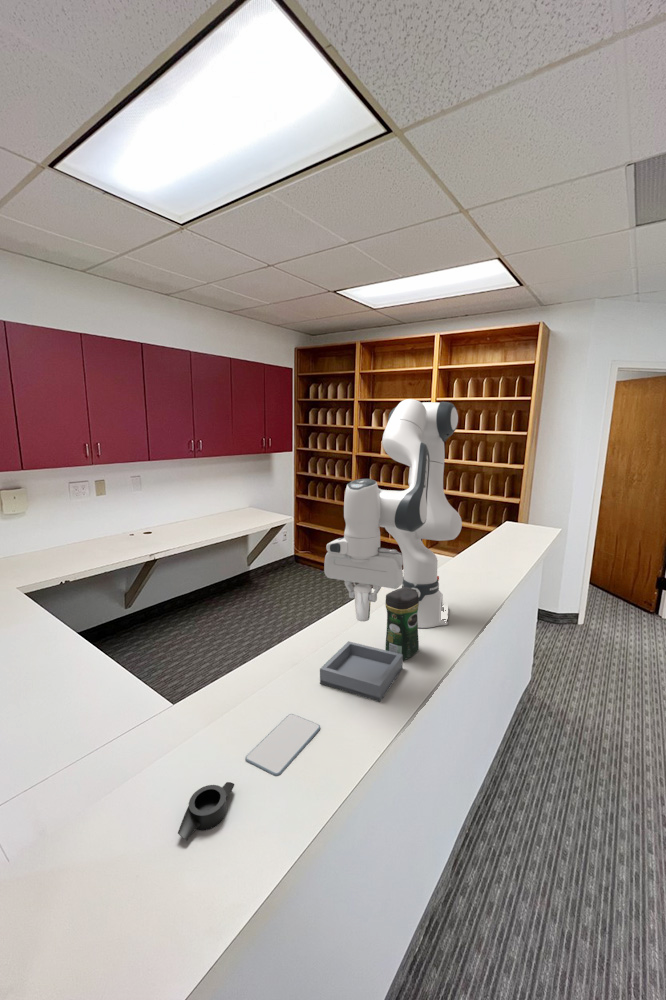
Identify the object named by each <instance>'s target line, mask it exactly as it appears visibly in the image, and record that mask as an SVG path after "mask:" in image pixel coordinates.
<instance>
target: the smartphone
mask: <svg viewBox="0 0 666 1000" xmlns="http://www.w3.org/2000/svg"><path fill="white" fill-rule="evenodd" d="M320 730H321V725H320V724H319V723H317V722H313V721H311V720H309V719H306V718H304V717H301V716H299V715H296V714H294V713H290V714H288V715H287V716H286V717H285V718H284V719H283V720H281V722H279V724H278V725H276V726H275V727H274V728H273V729H272V730H271V731H270V733H268V734H267V735H266V736H265V737H264V738H263V739H262V740H261V741H260V742H259V743H258V744H257V745H256V746H255V747H253V749H252V750H251V751H250V752H249V753H247V755H246V756H245V757H244V760H245V762H246V763H248V764H250V765H253V766H255V767H256V768H259V769H261V770H263V771H264V772H266V773H269V775H272V776H274V777H279V776H280V775H282V773H283V772H284V771H285V770H286V769H287V768H288V767H289V766H290V765H291V764H292V762H293V761H294V760H295V759H296V758H297V756H299V755H300V753H301V752H302V751H303V750H304V749H305V748H306V746H307V745H308V744H309V743H310V742H311V741H312V740H313V738H315V736H316V735H317V734H319V732H320Z"/></svg>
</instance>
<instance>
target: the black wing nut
mask: <svg viewBox="0 0 666 1000" xmlns="http://www.w3.org/2000/svg"><path fill="white" fill-rule="evenodd" d="M234 787H235V783H233V782H229V781H227V782H225V783H224V785H223V786H220V785H218V784H209V785H205V786H203V787H200V788H198V789H197V790H196V791H194V793H192V795H191V797H190V798H189V800H188V801H189V802H188V806H187V808H186V810H185V812H184V816H183V818H182V820H181V824H180V826H179V829H178V832H177V834H178V835H179V836H180V838H182V839H184V840H186V841H188V839H190V837H191V835H192V834H193V833H194V832H195V831H196V830H197V831H201V832H204V831H209V830H212V829H214V828H216V827H217V826H219V825H221V823H222V822H223V821H224V820H225V818H226V816H227V813H228V811H227V810H228V808H227V806H228V805H227V804H228V803H227V797H228V796H229V795H230V794H231V793H232V790H233V789H234Z"/></svg>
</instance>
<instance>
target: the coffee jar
mask: <svg viewBox="0 0 666 1000" xmlns="http://www.w3.org/2000/svg"><path fill="white" fill-rule="evenodd" d="M384 604H385V608H386V632H385V633H386V634H385V635H386V637H385V648H384V650H386V651H390V652H395V653H399V654H403V661H404V660H407V659H409V658H412V657H413V656H414V655H416V654H417V653H418V652H419V649H420V645H419V644H420V643H419V642H420V641H419V628H418V618H417V615H418V606H419V597H418V593H417V591H416V590H415V589H411V588H408V587H403V588H402V587H401V588H397V589H393V590H392V591H390V592H388V593H386V595H385V603H384Z"/></svg>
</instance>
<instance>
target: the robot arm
mask: <svg viewBox="0 0 666 1000" xmlns="http://www.w3.org/2000/svg"><path fill="white" fill-rule="evenodd" d="M458 423H459V414H458V410H457V407H456V405H454V403H452V402H449V401H440V402H434V401H431V402H430V401H428V402H427V401H426V402H425V401H423V402H421V401H420V400H417V399H414V398H408V399H407V398H406V399H403V400H402V401H400V402H399V403H398V404H397V405H396V406H395V407H394V408H392V409H391V411H390V412H389V414H388V418H387V424H386V426H385V428H384V431H383V434H382V441H381V444H382V447H383V450H384V452H385V454H387V456H388V457H390V458H391V459H392V460H393V461H395V462H398V463H400V464H403V465H405V466H408V467H409V471H408V481H407V482H408V486H409V487H408V488H406V489H404V490H391V489H390V490H389V489H388V490H387V489H381V488H379V485H378V482H377V481H376V480H374V479H371V478H359V479H355V480H351V481H350V482H348V483H347V484H346V488H345V492H344V499H343V500H344V501H343V518H344V522H345V527H344V532H343V537H339V538H336V539H333V540H332V541H330V542H328V543H327V544H326V547H325V549H326V551H327V552H326V554H325V556H324V564H323V565H324V566H323V567H324V569H323V572H324V575H325V577H326V578H327V579H332V580H339V581H344V585H345V588H346V589H347V591H348V598H349V599H355V597H354V586H353V584H354V583H353V582H355V584H356V583H357V584H360V583H362V584H368V585H370V586H372V590H374V591H373V592H371V594H370V595H369V601H371V602H372V603H376V601H377V600H378V593H379V592H380V591H381V589H382V588H388V589H392V590H397V589H399V587H401V588H403V587H408V588H411V589H415V590H416V591H417V593H418V597H419V606H418V615H417V618H418V629H419V628H423V629H426V628H427V629H428V628H433V627H438V626H448V624H449V621H448V622H447V621H444V620H446V619H442V620H441V611H443V612H444V607H442V606H443V605H444V604H445V603H444V602H443V601H444V600H443V599H444V597H443V592H441V591H440V583H439V581H440V576H439V575H438V564H439V563H438V557H437V555H436V554H435V552H433V551H432V550H431V549H429V548H427V547H426V546H425V545H424V542H423V541H422V540H429V541H430V540H431V541H438V542H440V541H441V542H442V541H451V540H453V541H454V540H455V539H456V538H457V537H458V536H459V535H460V533H461V530H462V527H463V522H462V521H463V520H462V517H461V516H460V513H459V512H458V511H457V510H456V509H455V508H454V507H453V506H452V505H451V504H450V503H449V501H448V499H447V497H446V494H445V492H444V491H445V490H444V470H445V458H446V457H445V455H446V454H445V452H446V451H445V442H446V441H447V440H448V438H449V437H451V436H452V435H453V434H454V433H455V431H456V430H457V427H458ZM380 528H384V529H385V531H386V532H388V534H389V535H391V536H392V537H393V539H394V540H395V542H396V543H397V545H398V546H399V549H400V551H401V552H400V551H398V550H397V549H394V548H392V549H391V548H386V547H381V531H380ZM445 611H446V610H445ZM449 611H450V609H449V610H448V616H449V613H450V612H449ZM445 622H446V623H445Z"/></svg>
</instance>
